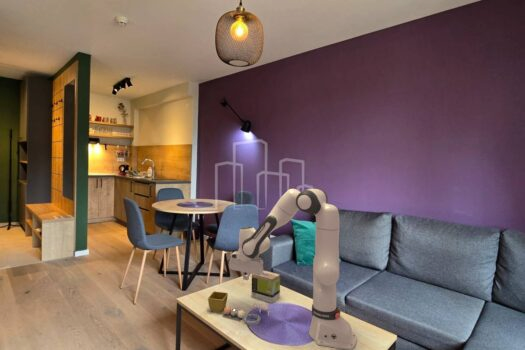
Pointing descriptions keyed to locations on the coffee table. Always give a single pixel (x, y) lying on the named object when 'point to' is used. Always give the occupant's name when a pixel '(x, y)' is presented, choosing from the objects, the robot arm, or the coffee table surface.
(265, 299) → the tea box
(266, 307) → the origami figure
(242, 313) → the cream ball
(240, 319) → the parts mat
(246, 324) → the race ring
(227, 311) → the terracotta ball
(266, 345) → the coffee table surface
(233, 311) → the steel ball
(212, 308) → the flower pot
